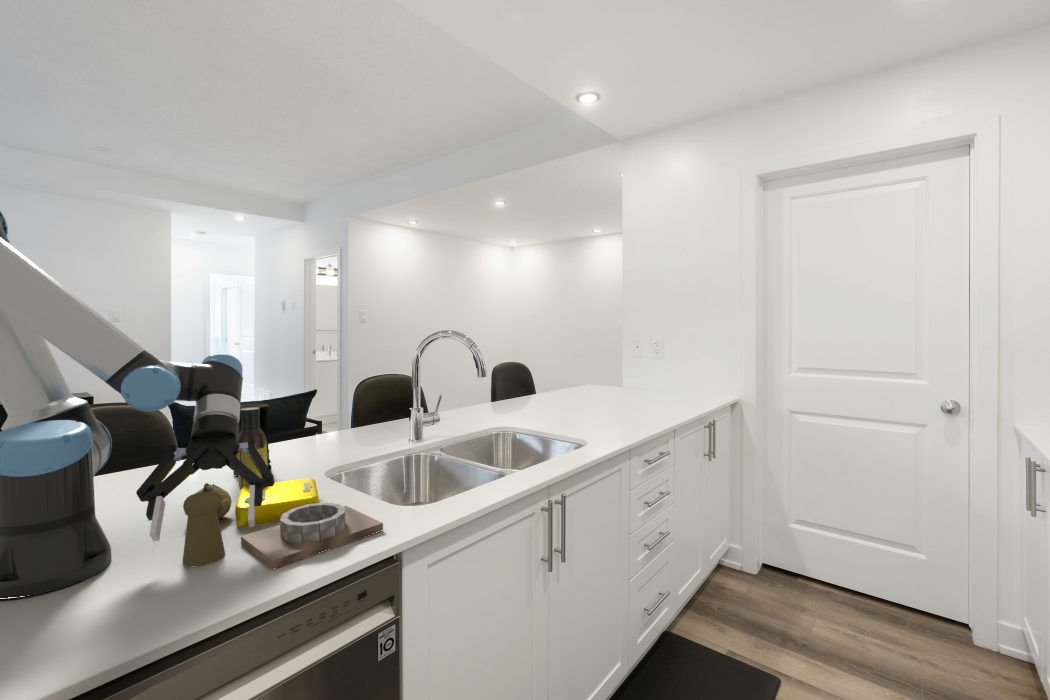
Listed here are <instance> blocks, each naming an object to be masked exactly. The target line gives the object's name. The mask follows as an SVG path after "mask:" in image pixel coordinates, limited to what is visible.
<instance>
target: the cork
mask: <svg viewBox="0 0 1050 700" xmlns="http://www.w3.org/2000/svg"><path fill="white" fill-rule="evenodd" d="M195 493H196V494H195ZM195 493H194V494H191V495H188V496H187V497H186V498H185V499H184V502H183V506H182V507H183V511H184V512H183V513H184V514H185V515H186V517H187V519H186V520H187V521H186V529H185V537H184V538H185V539H184V546H183V554H182V565H183V566H185V567H188V566H190V567H191V566H197V567H202V566H201V565H203V566H207V565H210V563H211V564H213V563H216V562H218V561H219V559H220V560H222V559H223V558H224V557H225V556H226V552H225V546H224V541H223V536H222V531H221V525H220V519H219V520H218V515H217V510H218V508H219V507H220V497H219V495H218V494H217V493H215V492H200V493H197V492H195ZM206 564H207V565H206Z"/></svg>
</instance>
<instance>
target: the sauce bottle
mask: <svg viewBox="0 0 1050 700" xmlns="http://www.w3.org/2000/svg"><path fill="white" fill-rule="evenodd" d="M259 415H260V408H244V409H241V410H240V416H241V420H242V426H241V427H242V430H241V432H240V433H239V435H238V443H245V442H248V440H249V439H254V440H255V444H256V449H257V451H258V452H259V454H260V456H261V457H262V459H263V460H264V462H265V463H266V465H267V466H268V455H267V440H266V436H265V434H264V432H263V431H262V430H261V428H260V418H259ZM237 458H238V459H239V460H240V461H241V462H242V463H243V464H244V465H246V466H247V467H248V468H249V469H250V470H251V471H253V472H254V473H255V474H256V475H257V476H258V477H260V478H263V477H262V476H261V474H260V473H259V471H258V469H257V468H256V466H255V465H254V463H253V461H252V460H251V458H250V455H249V454H248V455H247V454H245V453H244V451H242V450H240V451H239V453H238V454H237ZM237 478H238V480H237V482H238V488H239V492H240V490H241V489H242V488H243V487H245V486H250V484H249V483H248V482H247V481H246V480H244V479H243V478H242V477H241V476H240V475H239V474H238V476H237ZM239 492H238V493H239Z"/></svg>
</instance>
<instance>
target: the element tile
mask: <svg viewBox="0 0 1050 700" xmlns="http://www.w3.org/2000/svg"><path fill="white" fill-rule="evenodd" d="M239 491H240V492H238V496H237V500H236V503H235V526H236V527H237V528H250V527H249V523H248V509H249V492H250V486H245V487H243V488H242V489H241V490H240V489H239ZM316 503H319V492H318V488H317V482H316V480H315V479H314V478H312V477H309V478H308V477H307V478H300V479H292V480H291V479H290V480H284V481H283V480H282V481H274V485H273V486H267V487H265V488H264V489H263V503H262V505H261V506H256V507H255V526H254V527H256V526H262V525H268V524H275V523H280V519H281V516H282V514H284V513H285V512H287V511H289V510H291V509H293V508H296V507H300V506H304V505H307V504H308V505H309V504H316Z"/></svg>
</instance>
